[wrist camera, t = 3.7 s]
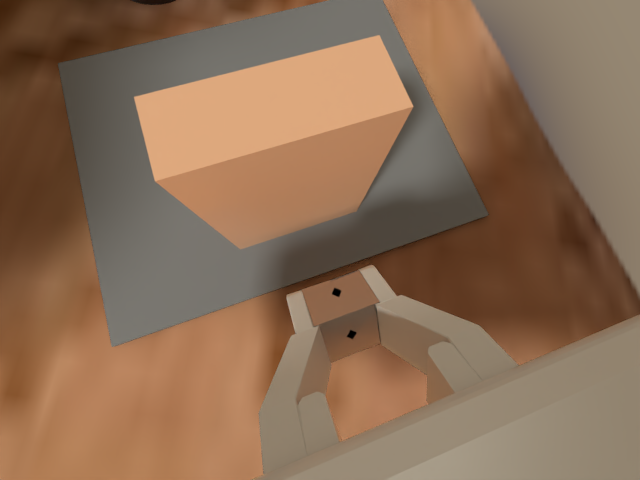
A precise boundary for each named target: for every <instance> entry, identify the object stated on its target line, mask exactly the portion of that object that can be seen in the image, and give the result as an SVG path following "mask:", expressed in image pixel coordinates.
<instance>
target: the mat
mask: <svg viewBox="0 0 640 480" xmlns="http://www.w3.org/2000/svg"><path fill="white" fill-rule="evenodd" d="M377 35H380V37H381V40H382V42H383V44H384V46H385V48H386V50H387V52H388V54H389V56H390V58H391V60H392V63H393V65H394V67H395V69H396V71H397V73H398V75H399V77H400V79H401V81H402V83H403V86H404V88H405V90H406V92H407V94H408V96H409V98H410V100H411V102H412V104H413V108H412V110H411V112H410V114H409V116H408V118H407V120H406V121H405V123H404V125H403V127H402V129H401V131H400V132H399V134H398V136H397V138H396V140H395V142H394V143H393V145H392V147H391V149H390V151H389V153H388V154H387V156H386V158H385V160H384V162H383V164H382V166H381V167H380V169H379V171H378V173H377V175H376V177H375V178H374V180H373V182H372V184H371V186H370V188H369V189H368V191H367V193H366V195H365V197H364V199H363V200H362V202H361V204H360V206H359V208H358V210H357V211H356V212H353V213H350V214H347V215H344V216H341V217H338V218H335V219H332V220H329V221H326V222H323V223H320V224H317V225H314V226H311V227H308V228H305V229H302V230H298V231H295V232H292V233H289V234H286V235H283V236H280V237H277V238H274V239H271V240H268V241H265V242H262V243H259V244H256V245H253V246H250V247H247V248H244V249H241V250H240V249H239V248H238V247H237V246H235V245H234V244H233V243H232V242H230V241H229V240H228V239H227V238H225V237H224V236H223V235H222V234H220V233H219V232H218V231H217V230H215V229H214V228H213V227H212V226H210V225H209V224H208V223H207V222H205V221H204V220H203V219H201V218H200V217H199V216H198V215H196V214H195V213H194V212H193V211H191V210H190V209H189V208H188V207H186V206H185V205H184V204H183V203H181V202H180V201H179V200H178V199H176V198H175V197H174V196H173V195H171V194H170V193H169V192H168V191H166V190H165V189H164V188H163V187H161V186H160V185H159V184H158V183H156V182H155V180H154V176H153V172H152V168H151V164H150V160H149V156H148V152H147V148H146V144H145V140H144V136H143V132H142V128H141V124H140V120H139V115H138V111H137V107H136V103H135V99H134V97H136V96H140V95H144V94H148V93H152V92H155V91H159V90H163V89H167V88H171V87H175V86H179V85H183V84H187V83H191V82H195V81H199V80H203V79H207V78H211V77H215V76H219V75H223V74H227V73H231V72H235V71H239V70H243V69H247V68H251V67H255V66H258V65H262V64H266V63H270V62H274V61H278V60H282V59H286V58H290V57H294V56H298V55H302V54H306V53H310V52H314V51H318V50H322V49H326V48H330V47H334V46H338V45H342V44H346V43H350V42H354V41H357V40H361V39H365V38H369V37H373V36H377ZM58 67H59V73H60V78H61V83H62V88H63V94H64V99H65V104H66V109H67V115H68V120H69V125H70V130H71V136H72V141H73V146H74V151H75V156H76V162H77V167H78V172H79V177H80V183H81V188H82V193H83V198H84V204H85V209H86V214H87V219H88V225H89V230H90V235H91V240H92V246H93V251H94V256H95V261H96V267H97V272H98V277H99V282H100V287H101V293H102V298H103V303H104V308H105V314H106V319H107V324H108V329H109V335H110V340H111V345H112V347H114V346H117V345H120V344H123V343H126V342H129V341H132V340H134V339H137V338H140V337H143V336H146V335H149V334H152V333H154V332H157V331H160V330H163V329H166V328H169V327H172V326H174V325H177V324H180V323H183V322H186V321H189V320H191V319H194V318H197V317H200V316H203V315H206V314H209V313H211V312H214V311H217V310H220V309H223V308H226V307H229V306H231V305H234V304H237V303H240V302H243V301H246V300H249V299H251V298H254V297H257V296H260V295H263V294H266V293H269V292H271V291H274V290H277V289H280V288H283V287H286V286H289V285H291V284H294V283H297V282H300V281H303V280H306V279H308V278H311V277H314V276H317V275H320V274H323V273H326V272H328V271H331V270H334V269H337V268H340V267H343V266H346V265H348V264H351V263H354V262H357V261H360V260H363V259H366V258H368V257H371V256H374V255H377V254H380V253H383V252H386V251H388V250H391V249H394V248H397V247H400V246H403V245H405V244H408V243H411V242H414V241H417V240H420V239H423V238H425V237H428V236H431V235H434V234H437V233H440V232H443V231H445V230H448V229H451V228H454V227H457V226H460V225H463V224H465V223H468V222H471V221H474V220H477V219H480V218H483V217H485V216H488V215H489V214H488V212H487V210H486V208H485V206H484V204H483V202H482V200H481V198H480V196H479V194H478V192H477V190H476V188H475V186H474V184H473V182H472V180H471V178H470V176H469V174H468V172H467V170H466V168H465V166H464V163H463V161H462V159H461V157H460V155H459V153H458V151H457V149H456V147H455V145H454V143H453V141H452V139H451V137H450V135H449V133H448V131H447V129H446V127H445V125H444V123H443V121H442V119H441V117H440V115H439V113H438V111H437V109H436V107H435V105H434V103H433V101H432V99H431V97H430V95H429V93H428V91H427V89H426V87H425V85H424V83H423V81H422V79H421V77H420V75H419V73H418V71H417V69H416V67H415V65H414V63H413V61H412V59H411V57H410V55H409V53H408V50H407V48H406V46H405V44H404V42H403V40H402V38H401V36H400V34H399V32H398V30H397V28H396V26H395V24H394V22H393V20H392V18H391V16H390V14H389V12H388V10H387V8H386V6H385V4H384V2H383V0H329V1H324V2H320V3H316V4H311V5H307V6H303V7H298V8H294V9H290V10H285V11H281V12H277V13H273V14H268V15H264V16H260V17H255V18H251V19H247V20H242V21H238V22H234V23H229V24H225V25H221V26H216V27H212V28H208V29H203V30H199V31H195V32H191V33H186V34H182V35H178V36H173V37H169V38H165V39H160V40H156V41H152V42H147V43H143V44H139V45H134V46H130V47H126V48H122V49H117V50H113V51H109V52H104V53H100V54H96V55H91V56H87V57H83V58H78V59H74V60H70V61H65V62H61V63H58Z"/></svg>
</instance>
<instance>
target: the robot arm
mask: <svg viewBox="0 0 640 480" xmlns="http://www.w3.org/2000/svg"><path fill="white" fill-rule="evenodd" d="M302 292H303V293H302ZM287 302H288V306H289V310H290V314H291V318H292V322H293V326H294V330H295V334H294V335H292V336H291V337H290V339H289V342H288V344H287V347H286V349H285V351H284V354H283V356H282V358H281V361H280V363H279V366H278V368H277V370H276V373H275V375H274V378H273V380H272V382H271V385H270V387H269V389H268V392H267V394H266V397H265V399H264V401H263V404H262V406H261V409H260V411H259V424H260V437H261V449H262V462H263V475H261V476H259V477H257V478H254V479H252V480H640V314H639V315H636V316H634V317H632V318H629V319H627V320H625V321H622V322H620V323H618V324H615V325H613V326H611V327H608V328H606V329H604V330H601V331H599V332H597V333H594V334H592V335H590V336H587V337H585V338H583V339H580V340H578V341H576V342H573V343H571V344H569V345H566V346H564V347H562V348H559V349H557V350H554V351H552V352H550V353H547V354H545V355H543V356H540V357H538V358H536V359H533V360H531V361H529V362H526V363H524V364H522V365H518V364H517V363H516V362H515V361H514V360H513V359H512V358H511V357H510V356H509V355H508V354H507V353H506V352H505V351H504V350H503V349H502V348H501V347H500V346H499V345H498V344H497V343H496V342H495V341H494V340H493V339H492V338H491V337H490V336H489V335H488V334H487V333H486V332H485V331H484V330H483V328H482V327H481V326H480V325H477V324H475V323H472V322H469V321H467V320H464V319H462V318H459V317H457V316H454V315H452V314H449V313H447V312H444V311H442V310H439V309H436V308H434V307H431V306H429V305H426V304H424V303H421V302H419V301H416V300H414V299H411V298H409V297H406V296H403V295H399V296H397V295H396V294H395V293H394V291H393V290H392V289H391V287H390V286H389V285H388V283H387V282H386V281H385V279H384V278H383V277H382V275H381V274H380V273H379V271H378V270H377V269H376V268H375V266H374V265H369V266H367V267H364V268H361V269H359V270H356V271H354V272H351V273H348V274H345V275H343V276H340V277H337V278H334V279H332V280H329V281H326V282H323V283H320V284H317V285H314V286H311V287H308V288H305V289H302V291H301V290H300V291H296V292H293V293H290V294H287ZM379 344H381V345H382V346H384V347H385V348H387V349H388V350H390V351H391V352H393V353H394V354H396V355H397V356H399V357H400V358H402V359H403V360H405V361H406V362H408V363H409V364H411V365H412V366H414V367H415V368H417V369H418V370H420V371H421V372H423V373H424V374H426V375H427V399H426V401H427V402H428V405H425V406H423V407H421V408H418V409H416V410H414V411H411V412H409V413H407V414H404V415H402V416H400V417H397V418H395V419H393V420H390V421H388V422H385V423H383V424H381V425H378V426H376V427H374V428H371V429H369V430H367V431H364V432H362V433H360V434H357V435H355V436H353V437H350V438H348V439H346V440H343V441H342V439H341V436H340V433H339V431H338V428H337V426H336V423H335V420H334V418H333V415H332V412H331V410H330V407H329V405H328V402H327V399H326V397H325V395H326V390H327V385H328V380H329V375H330V370H331V363H333V362H335V361H337V360H340V359H342V358H344V357H347V356H349V355H351V354H354V353H356V352H359V351H362V350H365V349H367V348H370V347H373V346H376V345H379Z"/></svg>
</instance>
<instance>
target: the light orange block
mask: <svg viewBox="0 0 640 480" xmlns="http://www.w3.org/2000/svg"><path fill="white" fill-rule="evenodd" d="M134 99H135V103H136V107H137V111H138V115H139V120H140V124H141V128H142V132H143V136H144V140H145V144H146V148H147V152H148V156H149V160H150V164H151V168H152V172H153V176H154V180H155V182H156V183H158V184H159V185H160V186H161V187H163V188H164V189H165V190H166V191H168V192H169V193H170V194H171V195H173V196H174V197H175V198H176V199H178V200H179V201H180V202H181V203H183V204H184V205H185V206H186V207H188V208H189V209H190V210H191V211H193V212H194V213H195V214H196V215H198V216H199V217H200V218H201V219H203V220H204V221H205V222H207V223H208V224H209V225H210V226H212V227H213V228H214V229H215V230H217V231H218V232H219V233H220V234H222V235H223V236H224V237H225V238H227V239H228V240H229V241H230V242H232V243H233V244H234V245H235V246H237V247H238V248H239V249H240V250H241V249H244V248H247V247H250V246H253V245H256V244H259V243H262V242H265V241H268V240H271V239H274V238H277V237H280V236H283V235H286V234H289V233H292V232H295V231H298V230H302V229H305V228H308V227H311V226H314V225H317V224H320V223H323V222H326V221H329V220H332V219H335V218H338V217H341V216H344V215H347V214H350V213H353V212H356V211H357V210H358V208H359V206H360V204H361V202H362V200H363V199H364V197H365V195H366V193H367V191H368V189H369V188H370V186H371V184H372V182H373V180H374V178H375V177H376V175H377V173H378V171H379V169H380V167H381V166H382V164H383V162H384V160H385V158H386V156H387V154H388V153H389V151H390V149H391V147H392V145H393V143H394V142H395V140H396V138H397V136H398V134H399V132H400V131H401V129H402V127H403V125H404V123H405V121H406V120H407V118H408V116H409V114H410V112H411V110H412V108H413V104H412V102H411V100H410V98H409V96H408V94H407V92H406V90H405V88H404V86H403V83H402V81H401V79H400V77H399V75H398V73H397V71H396V69H395V67H394V65H393V63H392V60H391V58H390V56H389V54H388V52H387V50H386V48H385V46H384V44H383V42H382V40H381V37H380V35H377V36H373V37H369V38H365V39H361V40H357V41H354V42H350V43H346V44H342V45H338V46H334V47H330V48H326V49H322V50H318V51H314V52H310V53H306V54H302V55H298V56H294V57H290V58H286V59H282V60H278V61H274V62H270V63H266V64H262V65H258V66H255V67H251V68H247V69H243V70H239V71H235V72H231V73H227V74H223V75H219V76H215V77H211V78H207V79H203V80H199V81H195V82H191V83H187V84H183V85H179V86H175V87H171V88H167V89H163V90H159V91H155V92H152V93H148V94H144V95H140V96H136V97H134Z"/></svg>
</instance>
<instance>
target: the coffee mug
mask: <svg viewBox="0 0 640 480" xmlns="http://www.w3.org/2000/svg"><path fill="white" fill-rule="evenodd" d="M132 1H134V2H138V3H142V4H150V5H155V4H164V3H169V2H172V1H175V0H132Z"/></svg>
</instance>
